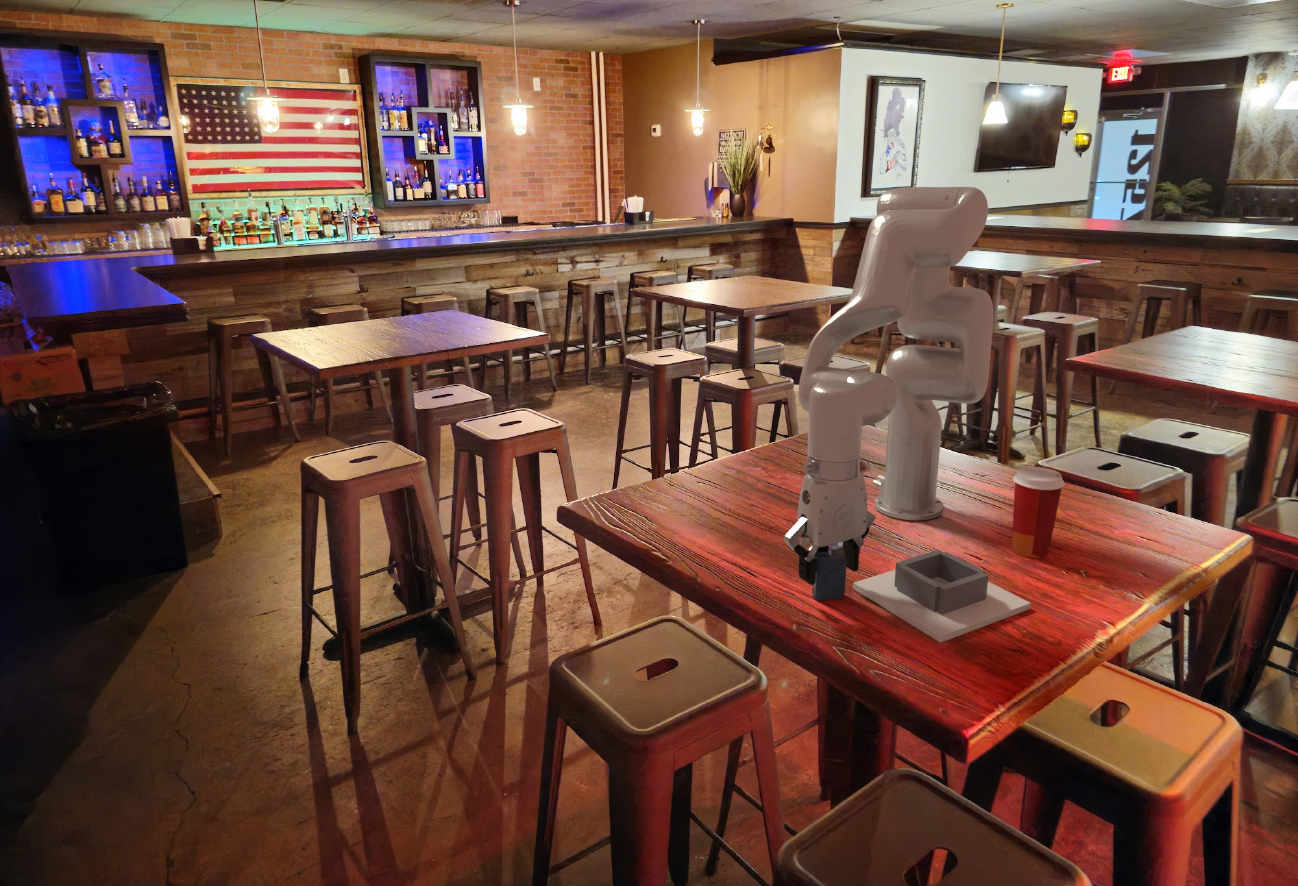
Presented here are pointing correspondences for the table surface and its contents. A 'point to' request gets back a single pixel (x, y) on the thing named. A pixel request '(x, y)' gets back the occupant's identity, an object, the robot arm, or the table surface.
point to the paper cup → (1035, 510)
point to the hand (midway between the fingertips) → (828, 573)
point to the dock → (941, 595)
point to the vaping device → (830, 573)
